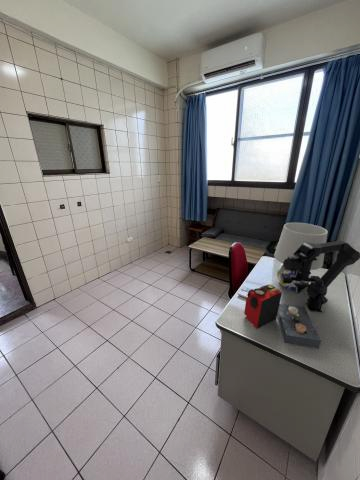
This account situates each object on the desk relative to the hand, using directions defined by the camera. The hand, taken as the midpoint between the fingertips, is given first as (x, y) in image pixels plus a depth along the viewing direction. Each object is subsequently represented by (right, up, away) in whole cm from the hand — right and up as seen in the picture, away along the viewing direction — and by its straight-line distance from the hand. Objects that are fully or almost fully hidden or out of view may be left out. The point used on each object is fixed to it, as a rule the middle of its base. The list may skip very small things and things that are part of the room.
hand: (297, 292), depth 108 cm
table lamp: (+12, -2, +28) cm, 30 cm away
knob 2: (-7, -18, -12) cm, 23 cm away
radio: (-21, -14, -1) cm, 25 cm away
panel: (-6, -16, -7) cm, 18 cm away
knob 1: (-4, -13, -1) cm, 14 cm away
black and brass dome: (-6, -11, -9) cm, 15 cm away
